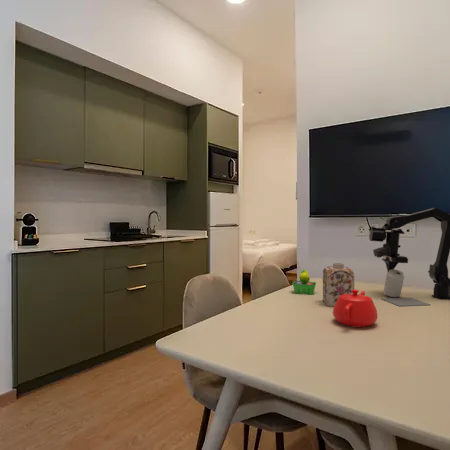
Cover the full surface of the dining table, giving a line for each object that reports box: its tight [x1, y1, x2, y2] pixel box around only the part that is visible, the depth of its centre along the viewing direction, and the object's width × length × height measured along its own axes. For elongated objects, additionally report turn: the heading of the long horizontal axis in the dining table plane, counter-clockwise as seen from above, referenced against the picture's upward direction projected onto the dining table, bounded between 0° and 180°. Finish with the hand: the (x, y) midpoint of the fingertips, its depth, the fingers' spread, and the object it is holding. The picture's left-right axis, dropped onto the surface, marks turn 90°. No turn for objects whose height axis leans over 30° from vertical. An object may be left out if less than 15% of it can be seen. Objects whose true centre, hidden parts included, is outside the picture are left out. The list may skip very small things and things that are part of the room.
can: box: [383, 268, 405, 298], centre depth 169 cm, size 8×8×12 cm
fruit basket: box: [292, 269, 317, 295], centre depth 180 cm, size 11×9×11 cm
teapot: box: [332, 288, 378, 328], centre depth 131 cm, size 25×16×12 cm, turn 145°
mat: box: [381, 297, 432, 307], centre depth 160 cm, size 15×13×1 cm
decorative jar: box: [322, 262, 355, 307], centre depth 158 cm, size 12×12×18 cm
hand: (389, 274), depth 173 cm, fingers closed
